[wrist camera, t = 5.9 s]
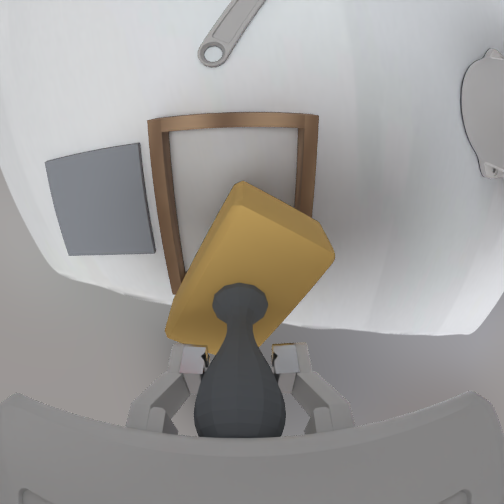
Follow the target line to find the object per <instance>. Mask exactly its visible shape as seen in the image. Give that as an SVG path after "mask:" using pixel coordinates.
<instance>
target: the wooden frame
mask: <svg viewBox="0 0 504 504" xmlns="http://www.w3.org/2000/svg"><path fill="white" fill-rule="evenodd" d="M147 123H148V136H149V148H150V158H151V167H152V176H153V184H154V192H155V199H156V206H157V213H158V219H159V226H160V232H161V238H162V243H163V249H164V254H165V259H166V265H167V270H168V275H169V279H170V284H171V289H172V293H173V294H175V295H176V293H177V291H178V289H179V287H180V285H181V283H182V281H183V279H184V277H185V275H186V273H185V270H184V263H183V257H182V250H181V244H180V237H179V229H178V222H177V214H176V206H175V197H174V188H173V178H172V168H171V156H170V143H169V131H178V130H189V129H203V128H223V127H290V128H298V151H297V172H296V190H295V206H294V208H295V209H297V210H298V211H300V212H302V213H304V214H306V215H307V216H309V217H311V218H312V209H313V198H314V186H315V173H316V159H317V143H318V123H319V116H318V115H313V114H301V113H281V112H227V113H207V114H193V115H182V116H172V117H163V118H155V119H151V120H147Z"/></svg>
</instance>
